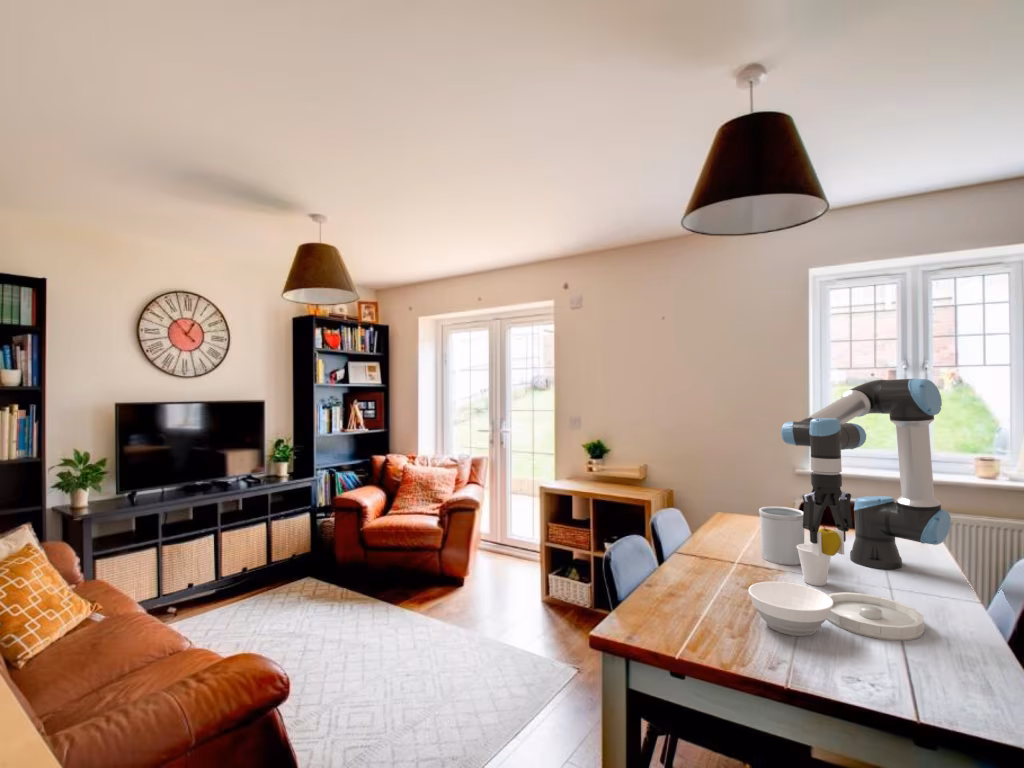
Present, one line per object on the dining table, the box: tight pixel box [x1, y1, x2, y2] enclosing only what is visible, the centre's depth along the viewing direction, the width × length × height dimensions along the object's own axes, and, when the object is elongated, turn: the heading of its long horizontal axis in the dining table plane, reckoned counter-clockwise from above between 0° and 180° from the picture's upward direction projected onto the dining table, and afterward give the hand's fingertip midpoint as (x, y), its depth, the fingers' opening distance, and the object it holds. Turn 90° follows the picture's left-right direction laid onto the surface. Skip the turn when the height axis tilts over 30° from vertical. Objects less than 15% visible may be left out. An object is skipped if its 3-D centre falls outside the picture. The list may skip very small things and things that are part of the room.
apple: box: [818, 525, 841, 557], centre depth 147 cm, size 6×6×8 cm
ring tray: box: [825, 591, 926, 642], centre depth 137 cm, size 22×22×3 cm
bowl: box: [748, 581, 833, 637], centre depth 134 cm, size 19×20×8 cm
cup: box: [797, 543, 832, 587], centre depth 165 cm, size 10×10×11 cm
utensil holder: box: [758, 506, 805, 566], centre depth 189 cm, size 15×15×18 cm
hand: (828, 553), depth 147 cm, fingers closed on apple, 6 cm apart
